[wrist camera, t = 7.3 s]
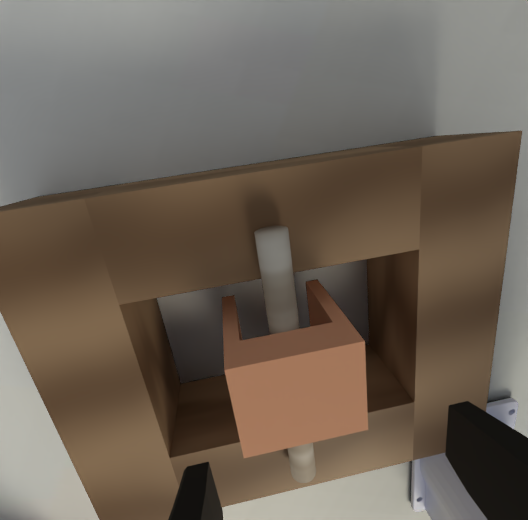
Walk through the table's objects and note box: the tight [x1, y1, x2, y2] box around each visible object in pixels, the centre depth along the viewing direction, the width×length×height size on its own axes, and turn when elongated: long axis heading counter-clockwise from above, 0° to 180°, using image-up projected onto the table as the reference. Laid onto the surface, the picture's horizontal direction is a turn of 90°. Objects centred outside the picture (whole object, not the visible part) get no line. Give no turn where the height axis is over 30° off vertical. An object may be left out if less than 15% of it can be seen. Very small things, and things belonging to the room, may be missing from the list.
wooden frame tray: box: [0, 131, 522, 520], centre depth 16 cm, size 16×20×6 cm
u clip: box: [222, 280, 368, 458], centre depth 14 cm, size 4×5×6 cm
